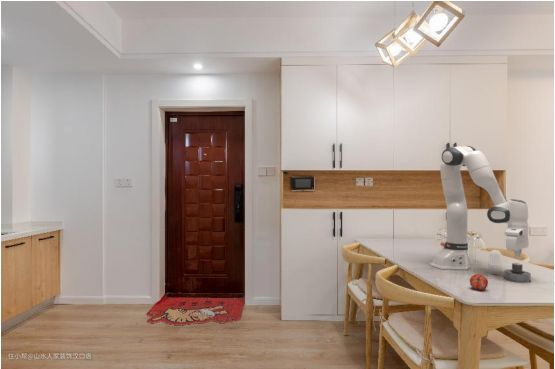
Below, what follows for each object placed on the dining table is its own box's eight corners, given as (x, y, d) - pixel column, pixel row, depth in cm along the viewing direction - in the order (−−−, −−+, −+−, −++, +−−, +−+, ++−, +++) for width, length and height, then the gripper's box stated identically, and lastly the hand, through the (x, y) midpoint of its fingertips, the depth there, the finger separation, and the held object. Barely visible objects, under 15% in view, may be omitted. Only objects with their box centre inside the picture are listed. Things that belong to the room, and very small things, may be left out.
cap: (516, 280, 185) (516, 265, 185) (509, 278, 190) (509, 263, 190) (524, 280, 186) (524, 264, 186) (517, 278, 190) (517, 262, 190)
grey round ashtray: (516, 282, 182) (516, 274, 182) (499, 277, 192) (499, 269, 192) (535, 282, 183) (535, 274, 183) (518, 276, 194) (518, 269, 194)
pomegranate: (469, 291, 174) (465, 281, 168) (474, 277, 177) (470, 268, 171) (486, 296, 169) (482, 286, 163) (491, 282, 172) (487, 272, 166)
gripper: (518, 228, 196) (518, 254, 196) (503, 231, 184) (503, 259, 184) (531, 230, 192) (532, 256, 192) (517, 233, 179) (517, 261, 179)
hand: (517, 257), depth 188 cm, fingers closed
